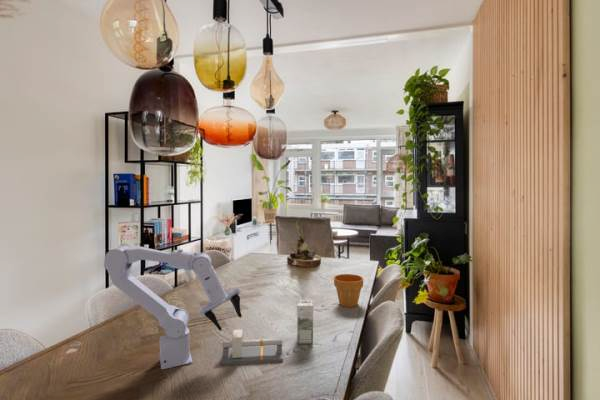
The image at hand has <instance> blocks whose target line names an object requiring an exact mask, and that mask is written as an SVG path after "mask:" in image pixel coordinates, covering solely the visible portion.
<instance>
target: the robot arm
mask: <svg viewBox="0 0 600 400" xmlns="http://www.w3.org/2000/svg"><path fill="white" fill-rule="evenodd" d="M142 260H143V261H148V262H149V261H152V262H156V263H157V262H159V263H166V264H168V266H169V267H170V268H172V269H173V268H174V269H179V270H185V271H193V273H194V274H196V275H197V276H198V278H199V281H200V283H201V286H202V288H203V290H204V291H205V295H206V296H207V299H208V300H209V303H207V304H205V306H203V307H202V308H200V309H199V310H198V313H199V316H200V317H202V318H203V317H205V318H208V319H209V321H211V322H212V323H213V324H214V325H215V327H216V328H217V330H218V331H219V332H220V331H223V330H222V326H221V325H220V323H219V321H218V319H217V317H216V314H215V313H214V311H213V310H215V309H217V307H220V306H221V305H223V304H225V303H226V302H228V301H230V302H231V304H232V307H233V308H234V310H235V313H236V315H237V317H238V318H242V317H243V315H242V311H241V296H240V294H242V293H241V291H240V288H239V287H235V288H234V289H232V290H230V291H228V292H226V291H225V289H224V286H223V284H222V282H221V280H220V278H219V275H218V273H217V271H216V270H215V268H214V266H213V265H212V258H211V256H210V255H209V254H207V253H205V252H200V253H198V252H197V251H194V252H189V251H184V249H183V248H179V249H178V250H177V249H174V250H172V251H171V252H168V251H162V250H158V249H153V248H149V247H145V246H140V245H136V244H135V245H134V244H133V245H132V244H131V245H129V244H121V245H119V246H118V247H116V248H112V249H111V250H109V251H108V252H106V254H105V255H104V263H103V268H104V269H106V270H107V273H108V275H109V278H110V280H111V282H112V285H114V286H115V287H116V288H117V289H118V290H120V291H121V292H122V293H124V294H125V295H126V296H127V297H129V299H131V300H133V301H134V302H135V303H137V304H138V305H139V306H141V307H142V308H143V309H144V310H145V311H147V312H148V313H150V314H151V315H152V316H154V318H156V319H157V321H158V324H159V326H160V328H162V329H163V330H164V332H165V335H162V336H160V337H159V354H158V355H159V356H158V359H159V360H158V361H159V362H160V370H167V369H170V368H175V367H178V366H183V365H188V364H192V363H193V358H192V356H191V350H190V348H191V345H190V344H191V343H190V342H191V341H190V340H191V339H190V338H191V336H190V329H189V328H188V324H189V322H190V319H191V318H190V314H189V313H190V312H188V311H187V310H185V309H182V308H179V307H177V306H176V305H173V304H169V303H167V302H166V300H164V299H162V298H161V297H160V296H158V295H157V294H156V293H155V292H154V291H152V290H151V289H150V288H149V287H148V286H146V285H145V284H143V283H142V282H141V281H140V280H138V279H137V278H136V277H135V276H133V273H132V269H133V263H136V262H139V261H142Z"/></svg>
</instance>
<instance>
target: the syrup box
mask: <svg viewBox="0 0 600 400" xmlns="http://www.w3.org/2000/svg"><path fill="white" fill-rule="evenodd" d="M296 301H297V302H296V303H297V304H296V309H297V311H296V316H297V317H296V318H297V319H296V320H297V321H296V322H297V324H296V326H297V327H296V329H297V330H296V331H297V332H296V334H297V335H296V336H297V344H298V345H308V344H311V345H312V344H314V305H313V301H312V300H296Z"/></svg>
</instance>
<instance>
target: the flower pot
mask: <svg viewBox="0 0 600 400" xmlns="http://www.w3.org/2000/svg"><path fill="white" fill-rule="evenodd" d="M333 285H334V287H335V289H336V294H337V298H338V303H339V305H340V306H342V307H346V308H353V307H354V308H355V307H356V306H358V304H359V300H360V299H359V298H360V295H361V294H360V293H361V291H362V288H363V287H364V278H363V277H362V276H361V275H359V274H358V275H357V274H353V273H351V274H349V273H344V274H338V275H334V277H333Z"/></svg>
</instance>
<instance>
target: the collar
mask: <svg viewBox="0 0 600 400" xmlns="http://www.w3.org/2000/svg"><path fill="white" fill-rule="evenodd" d="M231 339H232V340H231V341H232V358H238V357H242V352H243V348H244V347H242V341H243V340H244V330H243V329H233V334H232V338H231Z"/></svg>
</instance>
